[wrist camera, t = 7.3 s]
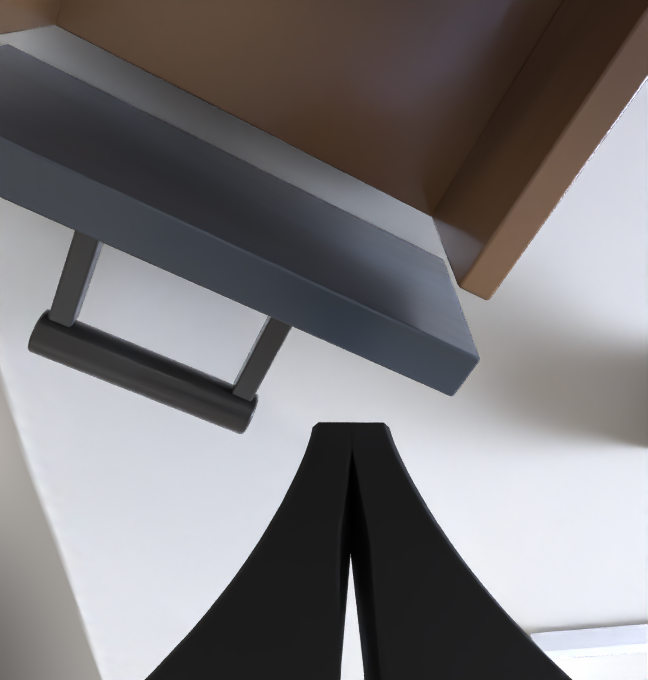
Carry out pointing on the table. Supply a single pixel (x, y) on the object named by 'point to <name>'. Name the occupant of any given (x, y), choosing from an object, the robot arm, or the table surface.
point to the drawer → (322, 143)
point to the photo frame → (593, 641)
